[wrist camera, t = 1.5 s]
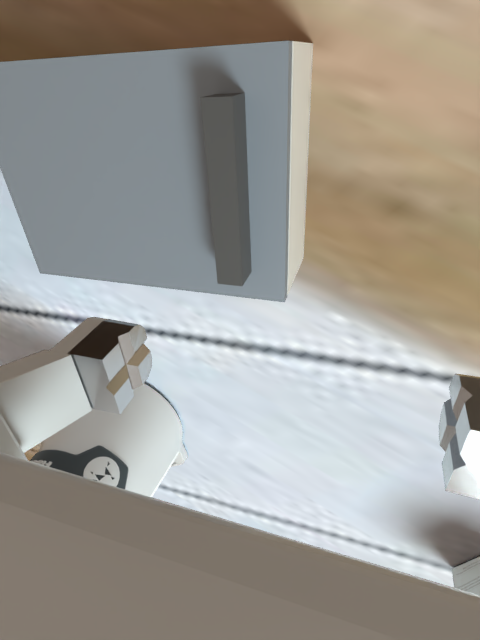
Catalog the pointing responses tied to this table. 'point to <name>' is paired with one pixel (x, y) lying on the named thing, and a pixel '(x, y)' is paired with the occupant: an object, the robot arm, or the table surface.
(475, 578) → the skincare box
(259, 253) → the grey flat rectangular panel
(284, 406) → the table surface
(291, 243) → the base
